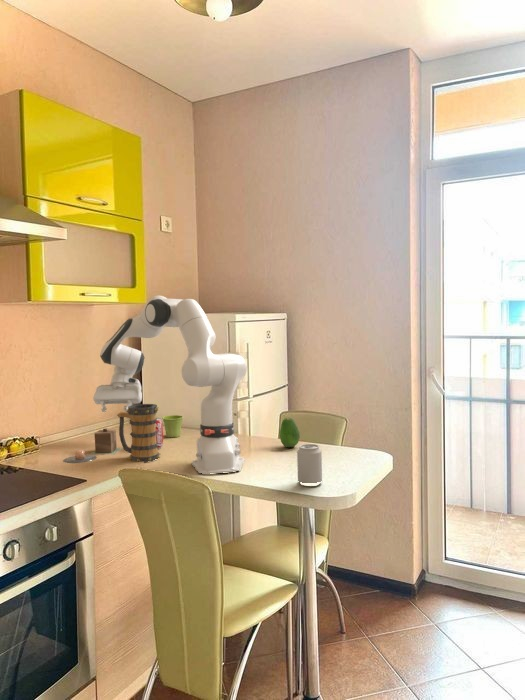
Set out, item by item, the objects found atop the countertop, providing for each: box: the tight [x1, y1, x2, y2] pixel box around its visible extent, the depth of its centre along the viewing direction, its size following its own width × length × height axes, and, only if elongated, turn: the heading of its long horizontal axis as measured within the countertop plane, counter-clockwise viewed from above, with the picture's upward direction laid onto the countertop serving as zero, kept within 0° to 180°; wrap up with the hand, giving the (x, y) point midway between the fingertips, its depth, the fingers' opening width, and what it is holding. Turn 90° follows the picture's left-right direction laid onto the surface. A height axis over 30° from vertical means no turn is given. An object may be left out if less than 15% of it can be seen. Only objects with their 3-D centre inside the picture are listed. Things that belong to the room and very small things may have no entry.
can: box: [296, 443, 323, 483], centre depth 170 cm, size 8×8×12 cm
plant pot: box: [162, 414, 184, 438], centre depth 248 cm, size 9×9×9 cm
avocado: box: [279, 417, 301, 448], centre depth 219 cm, size 8×8×12 cm
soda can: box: [156, 417, 164, 450], centre depth 225 cm, size 7×7×12 cm
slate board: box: [63, 454, 97, 464], centre depth 210 cm, size 12×12×1 cm
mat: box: [88, 447, 123, 456], centre depth 221 cm, size 10×10×1 cm
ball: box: [74, 449, 86, 460], centre depth 210 cm, size 3×3×3 cm
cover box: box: [94, 428, 118, 453], centre depth 221 cm, size 6×6×9 cm
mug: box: [116, 403, 161, 463], centre depth 209 cm, size 13×17×20 cm
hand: (114, 410), depth 233 cm, fingers open, 8 cm apart
